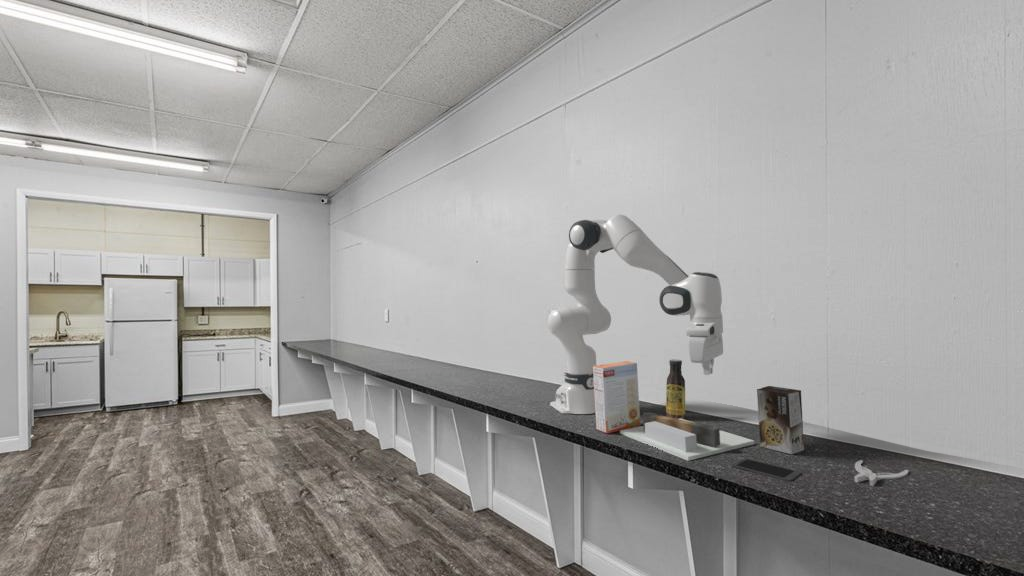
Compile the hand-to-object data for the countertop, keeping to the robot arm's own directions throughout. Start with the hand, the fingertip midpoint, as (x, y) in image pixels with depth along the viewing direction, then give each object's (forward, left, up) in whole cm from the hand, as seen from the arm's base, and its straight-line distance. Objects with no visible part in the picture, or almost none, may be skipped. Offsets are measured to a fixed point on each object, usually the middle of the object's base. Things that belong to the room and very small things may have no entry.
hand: (708, 374), depth 142 cm
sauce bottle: (-22, +8, -19) cm, 31 cm away
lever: (-4, -9, -18) cm, 20 cm away
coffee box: (+16, +9, -19) cm, 26 cm away
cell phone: (+24, -8, -20) cm, 32 cm away
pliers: (+38, +10, -20) cm, 44 cm away
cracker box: (-23, -16, -19) cm, 34 cm away
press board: (-4, -6, -19) cm, 20 cm away
